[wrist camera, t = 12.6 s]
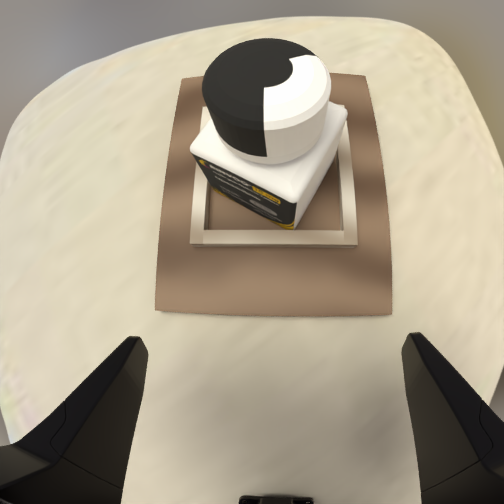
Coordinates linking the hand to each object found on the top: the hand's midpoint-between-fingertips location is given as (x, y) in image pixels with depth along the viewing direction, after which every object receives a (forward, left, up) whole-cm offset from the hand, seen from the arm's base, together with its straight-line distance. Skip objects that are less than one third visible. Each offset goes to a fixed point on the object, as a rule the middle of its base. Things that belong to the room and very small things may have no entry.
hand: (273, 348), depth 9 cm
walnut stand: (+12, 0, -14) cm, 18 cm away
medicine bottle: (+11, 0, -13) cm, 17 cm away
